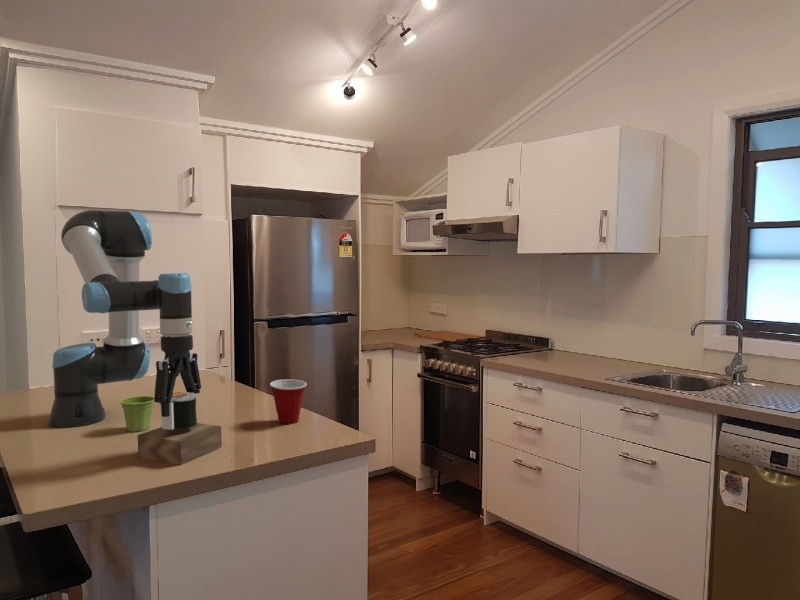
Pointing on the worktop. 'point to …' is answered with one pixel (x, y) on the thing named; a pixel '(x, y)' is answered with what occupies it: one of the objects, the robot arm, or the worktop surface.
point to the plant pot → (137, 412)
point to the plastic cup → (288, 399)
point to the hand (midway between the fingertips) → (179, 423)
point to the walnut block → (179, 443)
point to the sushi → (184, 409)
